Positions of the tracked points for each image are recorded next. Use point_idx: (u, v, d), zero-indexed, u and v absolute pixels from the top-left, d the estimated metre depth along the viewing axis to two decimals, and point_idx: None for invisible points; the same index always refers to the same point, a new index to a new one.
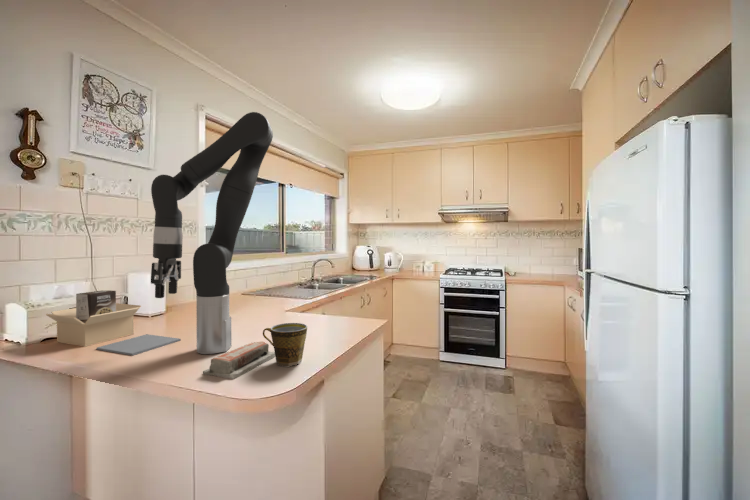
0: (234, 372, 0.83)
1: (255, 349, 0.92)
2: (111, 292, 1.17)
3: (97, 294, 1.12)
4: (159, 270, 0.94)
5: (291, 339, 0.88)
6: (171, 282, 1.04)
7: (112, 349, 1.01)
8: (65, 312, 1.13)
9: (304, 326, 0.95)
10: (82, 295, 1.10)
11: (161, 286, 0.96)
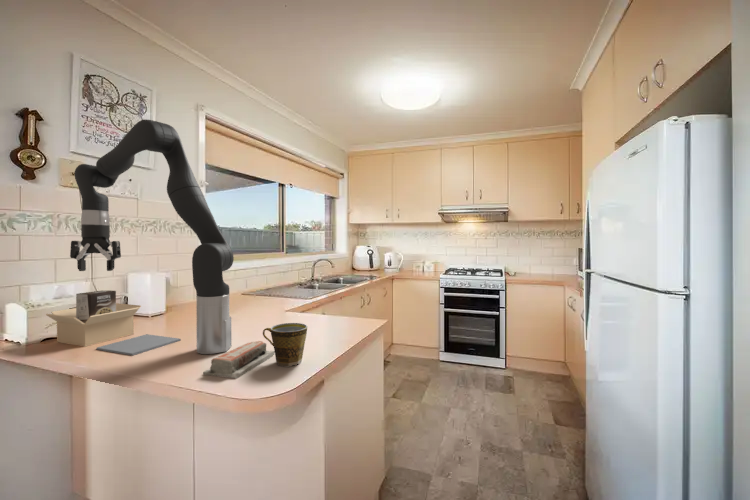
0: (236, 371, 0.83)
1: (254, 348, 0.92)
2: (111, 292, 1.17)
3: (97, 294, 1.12)
4: (119, 247, 1.16)
5: (291, 339, 0.88)
6: (82, 260, 1.13)
7: (112, 349, 1.01)
8: (65, 312, 1.13)
9: (304, 326, 0.95)
10: (82, 295, 1.10)
11: None
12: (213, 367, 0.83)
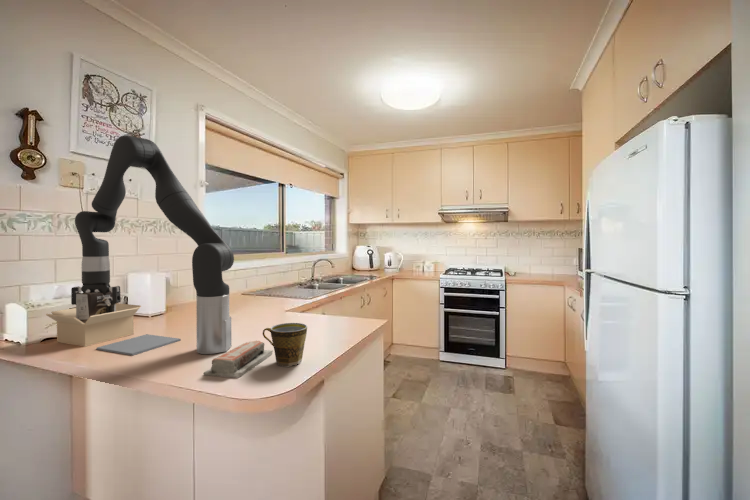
0: (238, 371, 0.83)
1: (253, 348, 0.93)
2: (111, 292, 1.17)
3: (97, 294, 1.12)
4: (119, 291, 1.16)
5: (290, 339, 0.88)
6: None
7: (112, 349, 1.01)
8: (65, 312, 1.13)
9: (304, 326, 0.95)
10: (82, 295, 1.10)
11: None
12: (214, 367, 0.83)
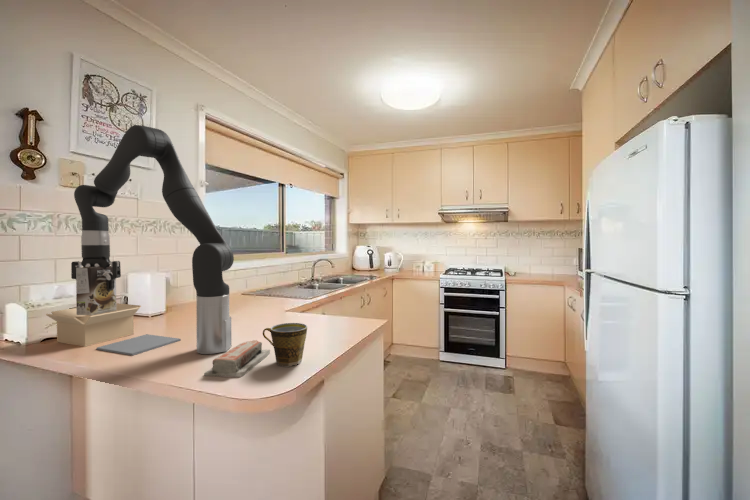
0: (240, 370, 0.84)
1: (252, 348, 0.93)
2: (111, 267, 1.16)
3: (97, 268, 1.12)
4: (119, 266, 1.16)
5: (291, 339, 0.88)
6: None
7: (112, 349, 1.01)
8: (65, 312, 1.13)
9: (304, 326, 0.95)
10: (82, 269, 1.10)
11: None
12: (215, 367, 0.83)
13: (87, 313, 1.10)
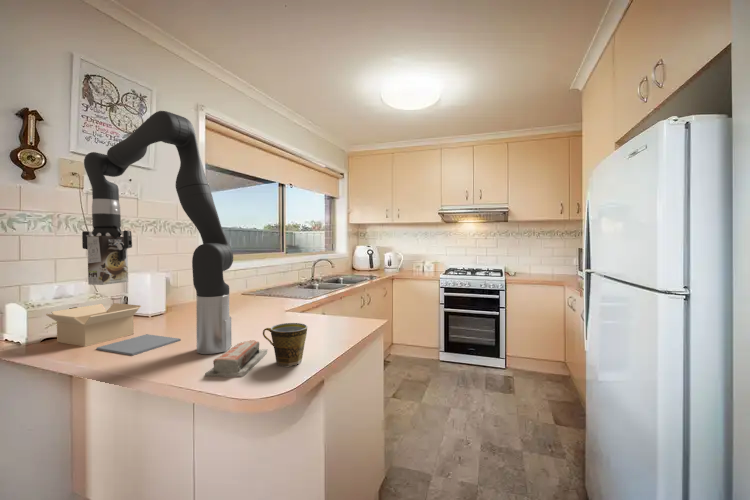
0: (241, 370, 0.84)
1: (251, 347, 0.93)
2: (122, 237, 1.14)
3: (108, 237, 1.10)
4: (131, 236, 1.14)
5: (291, 339, 0.88)
6: None
7: (112, 349, 1.01)
8: (65, 312, 1.13)
9: (304, 326, 0.95)
10: (93, 237, 1.08)
11: None
12: (217, 367, 0.83)
13: (99, 282, 1.08)
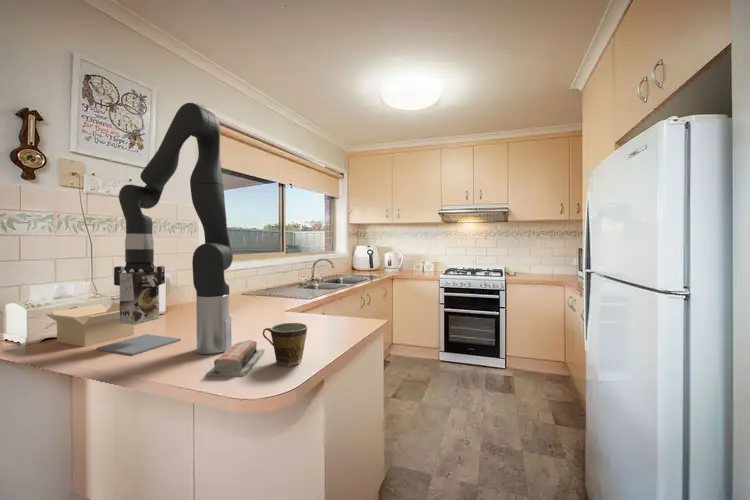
0: (243, 369, 0.84)
1: (250, 347, 0.94)
2: (155, 272, 1.09)
3: (142, 274, 1.04)
4: (164, 272, 1.09)
5: (291, 339, 0.88)
6: None
7: (112, 349, 1.01)
8: (65, 312, 1.13)
9: (304, 326, 0.95)
10: (126, 274, 1.03)
11: None
12: (218, 367, 0.83)
13: (131, 322, 1.02)
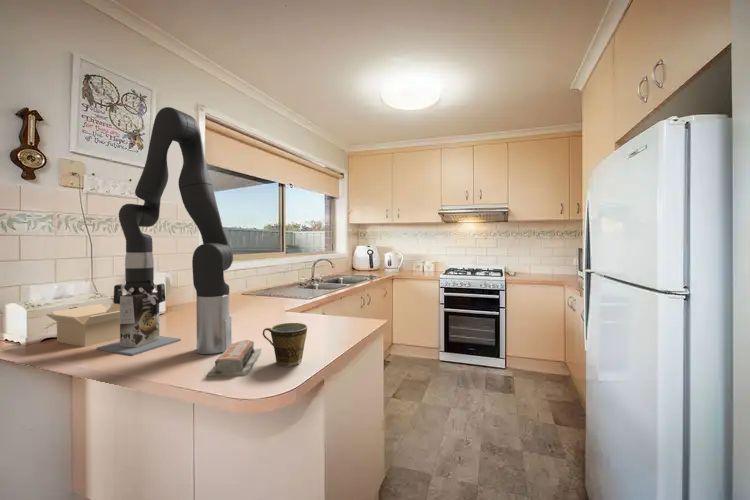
0: (245, 369, 0.85)
1: (249, 347, 0.94)
2: (155, 294, 1.09)
3: (142, 296, 1.04)
4: (164, 289, 1.09)
5: (291, 339, 0.88)
6: None
7: (112, 349, 1.01)
8: (65, 312, 1.13)
9: (304, 326, 0.95)
10: (127, 297, 1.03)
11: None
12: (220, 367, 0.83)
13: (132, 345, 1.03)
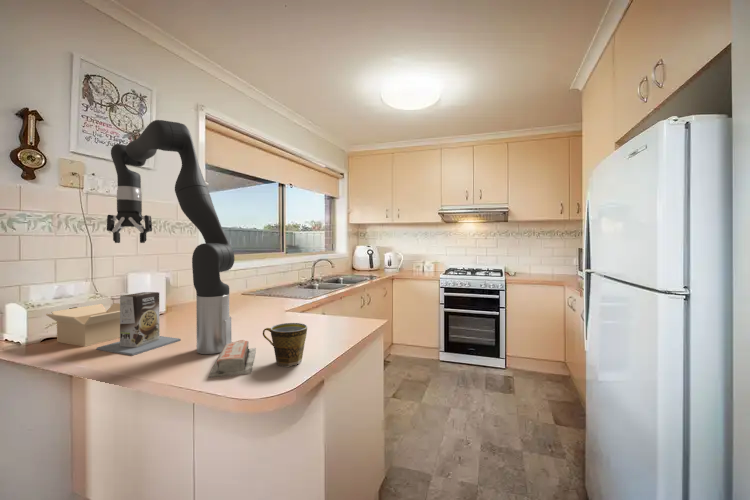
0: (247, 368, 0.86)
1: (246, 346, 0.94)
2: (155, 294, 1.09)
3: (142, 296, 1.04)
4: (151, 221, 1.26)
5: (291, 339, 0.88)
6: (117, 233, 1.23)
7: (112, 349, 1.01)
8: (65, 312, 1.13)
9: (304, 326, 0.95)
10: (127, 297, 1.03)
11: None
12: (222, 367, 0.83)
13: (132, 345, 1.03)
